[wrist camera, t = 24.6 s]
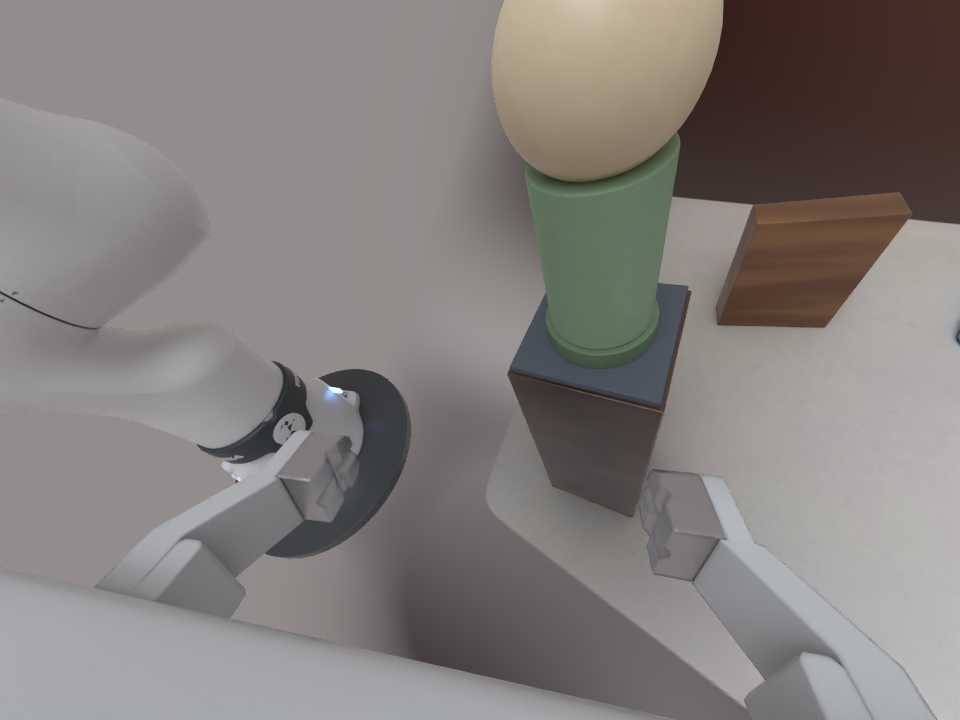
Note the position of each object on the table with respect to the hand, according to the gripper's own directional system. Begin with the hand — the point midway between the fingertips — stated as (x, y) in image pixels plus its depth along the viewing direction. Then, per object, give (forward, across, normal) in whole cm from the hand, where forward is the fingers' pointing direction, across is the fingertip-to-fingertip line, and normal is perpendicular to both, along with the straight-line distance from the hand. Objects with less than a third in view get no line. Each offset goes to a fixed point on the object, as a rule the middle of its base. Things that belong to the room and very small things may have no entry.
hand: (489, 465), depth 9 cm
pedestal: (+20, -8, +22) cm, 31 cm away
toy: (+15, -5, -2) cm, 16 cm away
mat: (+12, -4, +2) cm, 13 cm away
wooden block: (+36, -27, +12) cm, 47 cm away
